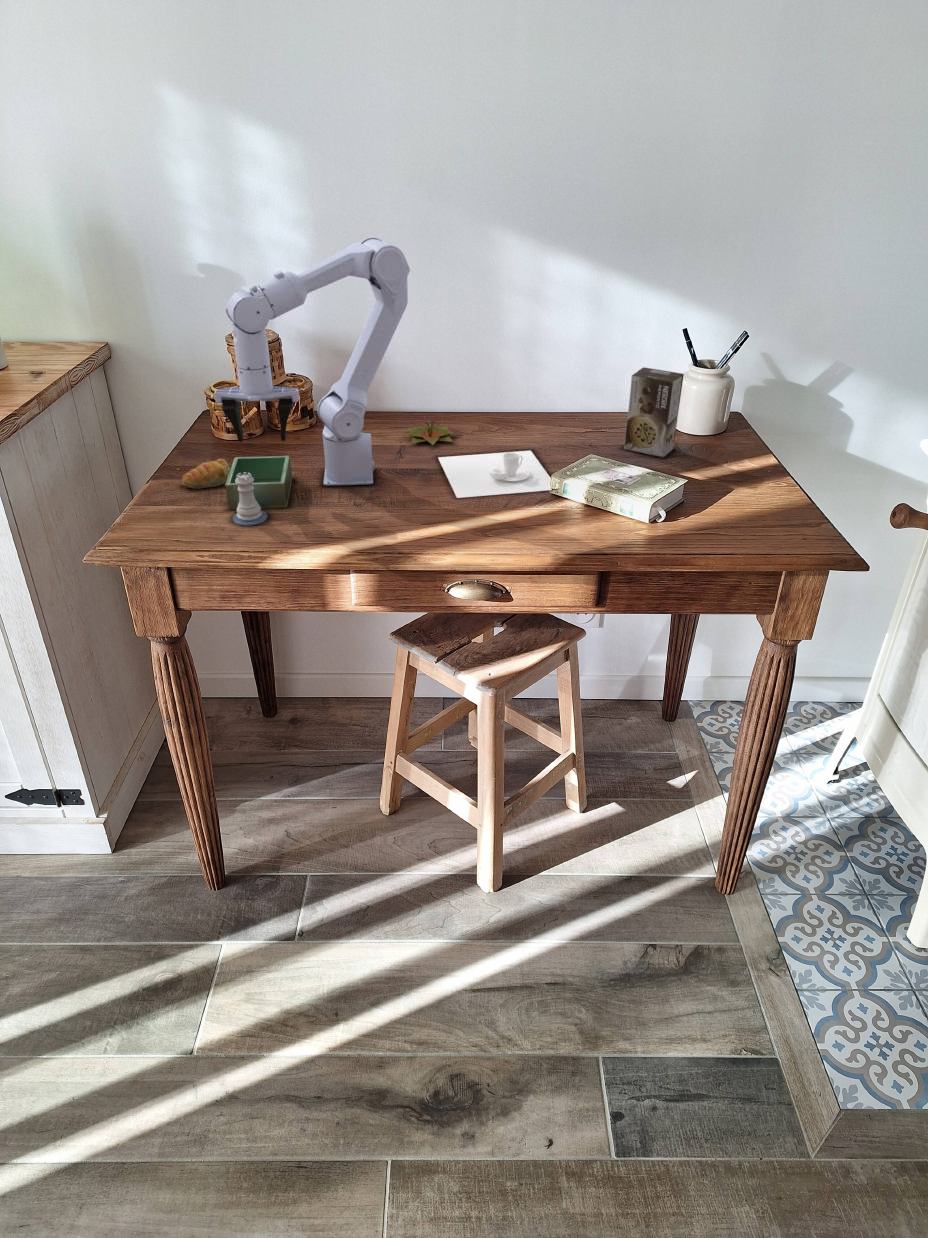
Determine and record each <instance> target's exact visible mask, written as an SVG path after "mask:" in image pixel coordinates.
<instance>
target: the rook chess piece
mask: <svg viewBox="0 0 928 1238" xmlns="http://www.w3.org/2000/svg"><path fill="white" fill-rule="evenodd" d="M243 474H244V475H241V473H239V474H238V475H236V477H237V478H236V480H235V482H236V483H237V484H238V490H239V504H238V507H237V510H235V511H236V514H237V517H238V518H239V519H240V520H242V521H254V520H257V519H259V518H260V517H261V515H262V512H261V511H262V509H261V507H260V505H259V504H258V502H257V501H256V500H255V496H254V493H253V489H254V487H253V486H252V483H253V481H254V478H253V477H252V476H251V474H250V473H248V475H246V472H243Z"/></svg>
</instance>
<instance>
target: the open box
mask: <svg viewBox="0 0 928 1238" xmlns="http://www.w3.org/2000/svg"><path fill="white" fill-rule="evenodd" d="M230 469H231V470H230V473H229V476H228V479H227V482H226V484H224V485H225V491H226V499H227V504H228V510H231V511H233V510H235V511H236V510H237V507H238V504H239V490H238V484H237V483H236V482H235V480H236V478H237V477H236V475H238V474H239V473H241V475H244V474H243V472H246V475H248V473H250V474H251V476H252V477H253V478H254V481H253V483H252V486H253V487H254V489H253V493H254V496H255V500H256V501H257V502H258V504H259V505H260V507H261V510H263V509H286V508H288V504H289V498H290V494H291V487H292V482H293V475H292V466H291V457H290V455H274V456H273V455H270V456H239V457H238V456H237V457H234V459H233V462H232V464H231V468H230Z"/></svg>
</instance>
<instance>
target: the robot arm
mask: <svg viewBox="0 0 928 1238" xmlns="http://www.w3.org/2000/svg"><path fill="white" fill-rule="evenodd" d="M410 271H411V268H410V266H409V263H408V261H407V258H406V257H405V253H403V251H402V250H401V249H400V248H399V247H398V246H395V245H393V244H389V243H386V242H385V241H382V239H379V238H378V237H374V236H373V237H372V236H371V237H366V238H364V239H363V240H361V241H360V242H359V241H357V242H354V243H351V244H349V245H348V246H347V247H345V248H344V249H341V250H340V251H339V252H337V253H335V254H333V255H331V256H330V257H328V258H326V259H324V260H322V261H321V262H318V263H317V264H315V265H313V266H311V267H310V268H308V269H305V270H304V271H302V272H301V273H299V274H296V273H294V272H292V271H285V272H282V270H278V271H276V272H274V273H273V276H274V277H273V278H271V279H269V280H267V281H265V282H262V283H261V284H259V285H257V286H256V285H255V284H252V285H250V286H248V288H249V291H244V290H241V291H237V292H235V293H233V294H232V295H231V296H230V298H229V299H228V301H227V306H226V308H225V313H226V316H227V317H228V319H229V320H230V321H231V322H232V325H231V326H232V334H233V347H234V357H235V362H236V369H237V370H236V371H237V378H238V386H234V387H226V388H216V389H215V390H214V392H213V393H214V394H213V395H214V400H215V404H221V410H222V412H223V413H224V415H225V416H226V417H227V420H229V422H230V423H231V424H230V425H231V426H232V428H233V430H234V432H235V435H236V437H237V440H238V442H239V443H243V442H244V438H245V436H244V428H243V424H242V418H241V406H240V402H278V404H277V411H278V412H277V413H278V418H279V426H280V441H281V442H285V441H286V439H287V427H288V421H289V417H290V414H291V412H292V408H293V405H294V403H297V402H299V401H300V393H299V388H298V387H287V386H278V385H277V386H276V385H273V378H272V369H271V360H270V352H269V351H270V349H269V342H268V341H269V340H268V337H267V329H266V328H267V326H268V324H269V321H270V320H275V319H277V318H278V317H280V316H282V315H284V314H286V313H288V312H290V311H292V310H295V309H297V308H299V307H300V306H302V305H304V304H305V302H306V299H307V296H308V294H310V293H312V292H314V291H317V290H318V289H321V288H323V287H326V286H329V285H331V284H333V283H336V282H337V281H339V280H343V279H344V278H347V277H355V278H361V279H365V280H367V281H368V282H369V285H370V287H371V290H372V293H373V295H374V298H375V302H374V304H373V306H372V309H371V311H370V313H369V315H368V317H367V320H366V322H365V324H364V327H363V329H362V330H361V333H360V334H359V338H358V340H357V342H356V344H355V346H354V348H353V351H352V353H351V355H350V357H349V359H348V362H347V364H346V367H345V368H344V371H343V373H342V375H341V378H340V379H339V380H338V381H336V382H334V383H333V384H332V385H331V387H330V389H329V391H328V392H327V394H325V395H324V396H323V397H322V398H321V399H320V400H319V402H318V404H317V409H316V411H317V416H318V418H319V420H320V421H321V422H322V423H323V424H324V426H323V430H322V442H323V454H324V465H325V468H324V475H323V486H325V487H331V486H332V487H333V486H361V485H363V486H364V485H373V484H374V472H375V461H374V460H373V448H372V447H373V446H372V434H371V433H369V432H368V433H367V432H362V431H363V428H364V424H365V413H366V412H367V409H368V400H367V393H368V391H369V389H370V386H371V384H372V381H373V380H374V378H375V375H376V373H377V371H378V369H379V367H380V365H381V363H382V361H383V359H384V356H385V354H386V352H387V350H388V348H389V346H390V343H391V341H392V339H393V337H394V335H395V332H396V330H397V328H398V325H399V324H400V321H401V319H402V318H403V314H404V312H405V311H406V309H407V306H408V303H409V302H408V301H409V298H408V297H409V295H408V293H409V292H408V291H409V290H408V276H409V275H410Z"/></svg>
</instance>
